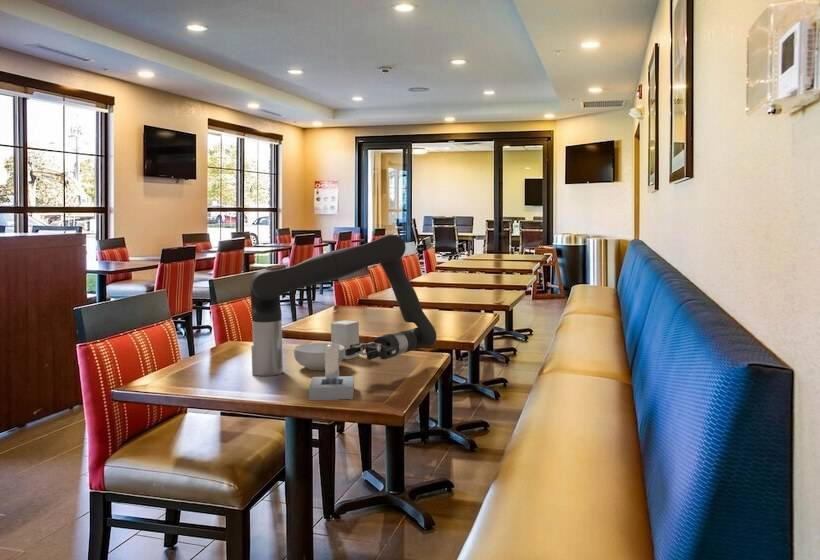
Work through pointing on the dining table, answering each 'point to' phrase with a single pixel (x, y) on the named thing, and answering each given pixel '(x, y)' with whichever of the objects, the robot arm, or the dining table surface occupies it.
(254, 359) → the robot arm
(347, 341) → the supplement box
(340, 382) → the block
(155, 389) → the dining table surface
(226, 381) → the dining table surface
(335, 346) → the pin gauge
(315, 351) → the cereal bowl
